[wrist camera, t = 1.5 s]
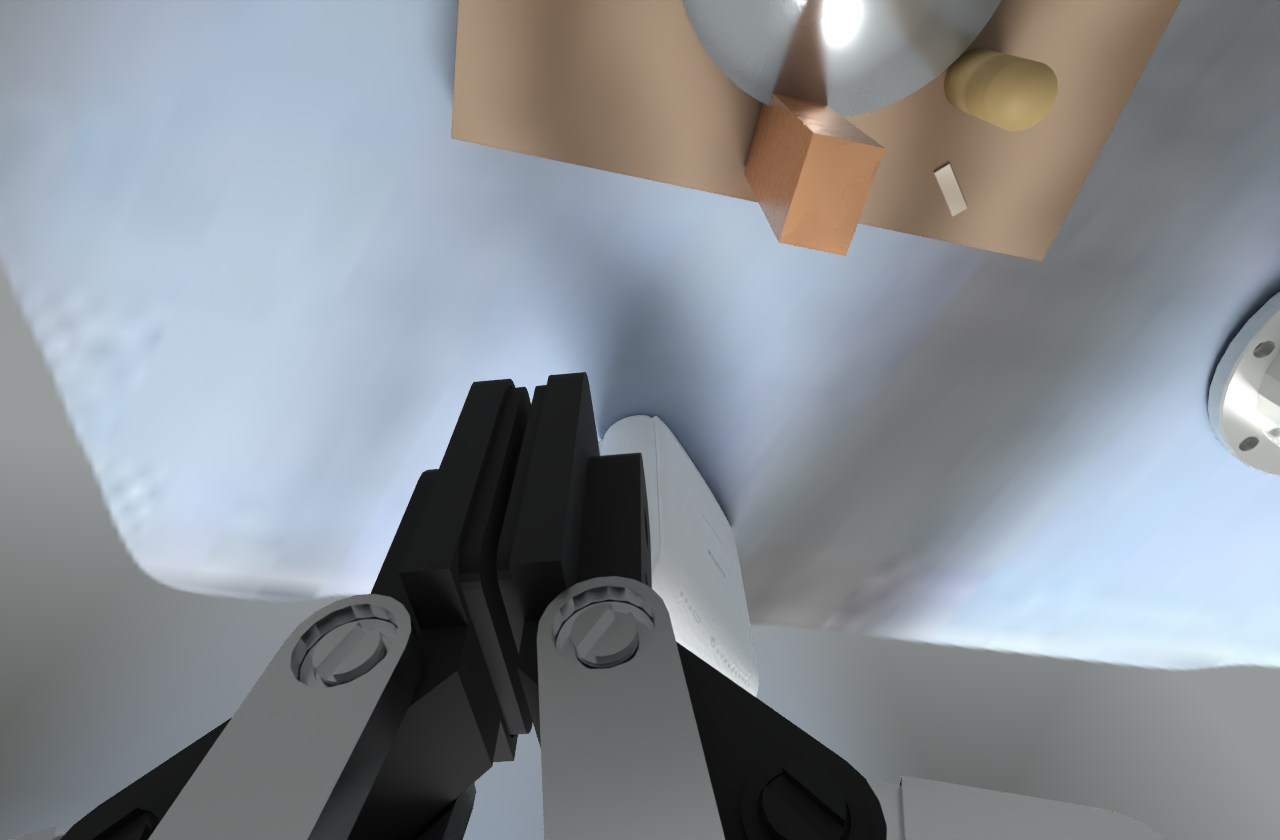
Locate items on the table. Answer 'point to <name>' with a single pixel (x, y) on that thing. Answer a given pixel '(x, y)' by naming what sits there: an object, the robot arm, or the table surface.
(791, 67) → the flange plate
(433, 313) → the table surface
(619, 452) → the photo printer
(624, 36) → the walnut board
